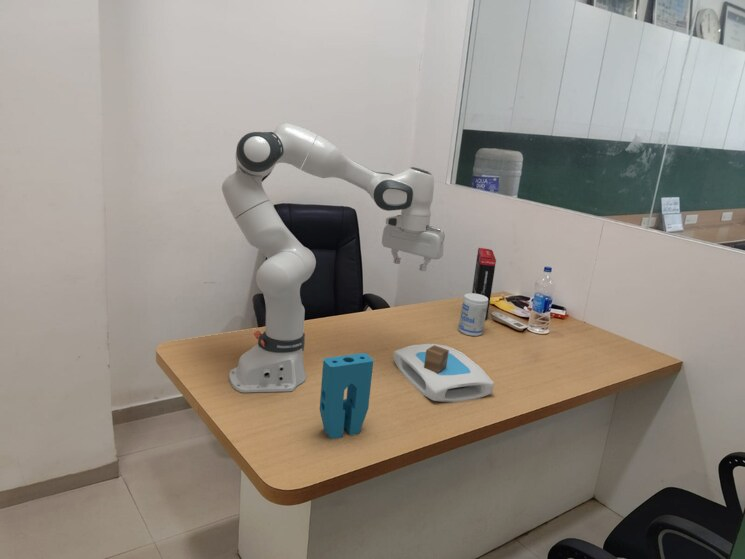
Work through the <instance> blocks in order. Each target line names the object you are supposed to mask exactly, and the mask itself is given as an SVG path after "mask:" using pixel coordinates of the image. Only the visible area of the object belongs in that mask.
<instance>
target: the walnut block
mask: <svg viewBox="0 0 745 559" xmlns="http://www.w3.org/2000/svg"><path fill="white" fill-rule="evenodd" d="M448 353H449V350H447V349H444V348H441V347H438V346H435V345H434V346H432V347H430V348H429V349H427V350H426V356H425V364H424V368H426V369H428V370H431V371H433V372H436V373H440V372H441V371H443V370H444V369H446V366H447V359H448Z"/></svg>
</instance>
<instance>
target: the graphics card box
mask: <svg viewBox="0 0 745 559" xmlns="http://www.w3.org/2000/svg"><path fill="white" fill-rule="evenodd" d="M475 262H476V263H475V268H474V277H473V284H472V291H471V293H475V294H480V295H483V296H486V297H487V298H488V306H487V312H486V317H485V321H487V320H488V316H489V310H490V303H491V298H492V290H493V282H494V278H495V270H496V264H497V258H496V256H495V254H494V252H493V249H491V248H486V247H485V248H483V247H478V248H477V255H476V261H475Z"/></svg>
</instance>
